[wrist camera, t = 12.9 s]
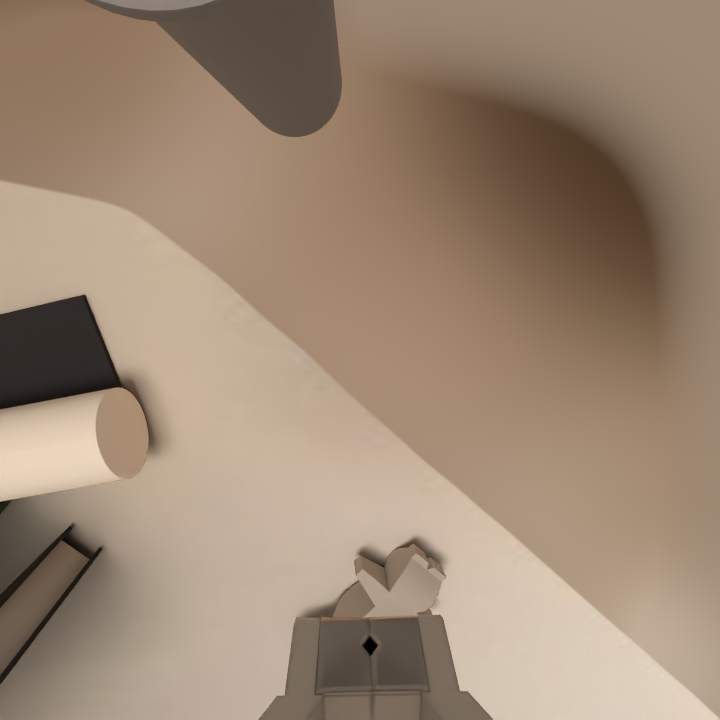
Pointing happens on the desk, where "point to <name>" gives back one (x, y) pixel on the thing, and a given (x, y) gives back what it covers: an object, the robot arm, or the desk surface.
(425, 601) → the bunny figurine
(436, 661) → the robot arm
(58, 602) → the ring binders
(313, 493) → the desk surface
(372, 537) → the desk surface
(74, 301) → the mat
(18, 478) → the cylindrical container
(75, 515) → the desk surface
